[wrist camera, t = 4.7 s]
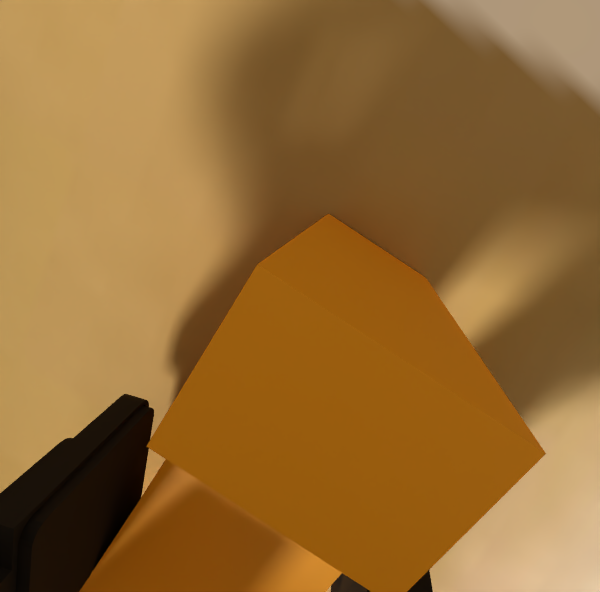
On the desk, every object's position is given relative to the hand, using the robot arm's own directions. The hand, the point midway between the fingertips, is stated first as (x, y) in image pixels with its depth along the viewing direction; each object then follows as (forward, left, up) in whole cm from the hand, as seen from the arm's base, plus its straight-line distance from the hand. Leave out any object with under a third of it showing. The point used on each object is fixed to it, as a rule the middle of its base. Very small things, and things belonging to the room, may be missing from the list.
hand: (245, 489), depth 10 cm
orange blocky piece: (0, 0, -2) cm, 2 cm away
